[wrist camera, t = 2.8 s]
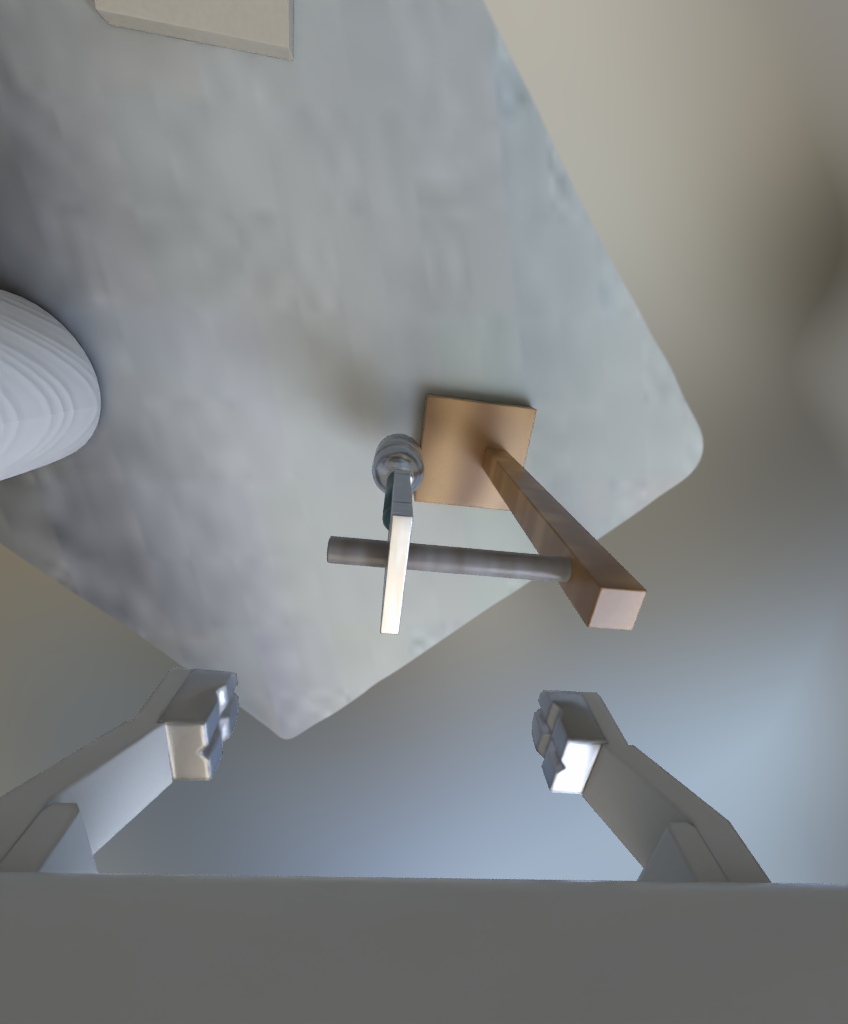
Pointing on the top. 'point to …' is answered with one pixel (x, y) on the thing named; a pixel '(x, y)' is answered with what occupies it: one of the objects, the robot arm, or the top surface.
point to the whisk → (397, 516)
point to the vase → (41, 389)
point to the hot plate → (211, 22)
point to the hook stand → (505, 486)
